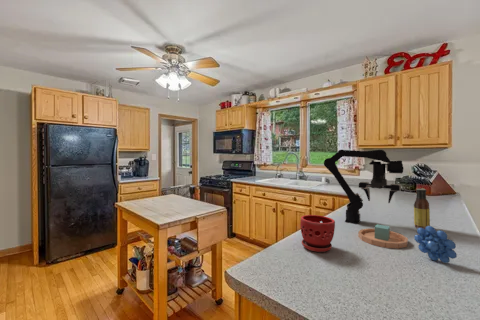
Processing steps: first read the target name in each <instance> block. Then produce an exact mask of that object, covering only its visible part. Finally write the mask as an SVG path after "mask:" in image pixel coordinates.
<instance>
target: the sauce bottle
mask: <svg viewBox="0 0 480 320" xmlns="http://www.w3.org/2000/svg"><path fill="white" fill-rule="evenodd" d="M415 191H416V198H415V201H414V204H413V224H414V227H415V228H416V229H418V228H423V229H425V227H426V226H431V219H430V217H431V216H430V214H431V211H430V202H429V201H428V199H427V189H425V188H416V189H415ZM425 230H426V229H425Z"/></svg>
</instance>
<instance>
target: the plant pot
mask: <svg viewBox="0 0 480 320" xmlns="http://www.w3.org/2000/svg"><path fill="white" fill-rule="evenodd" d="M335 230H336V221H335V220H334V219H333V218H331V217H329V216H324V215H316V214H306V215H302V216H301V217H300V232H301V237H302V240H301V244H302V246H303V247H304V248H305V249H307V250H309V251H312V252H318V253H324V252H328V251H330V250H331V249H332V247H333V244H332V241H333V239H334V235H335Z"/></svg>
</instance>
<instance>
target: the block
mask: <svg viewBox="0 0 480 320" xmlns="http://www.w3.org/2000/svg"><path fill="white" fill-rule="evenodd" d="M374 229H375V238H376V239H381V240H386V241H388V240H389V238H390V231H391V228H390V226H389V225H383V224H376V225H374Z"/></svg>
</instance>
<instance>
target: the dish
mask: <svg viewBox="0 0 480 320" xmlns="http://www.w3.org/2000/svg"><path fill="white" fill-rule="evenodd" d="M357 234H358V235H357V237H358V239H360V240H361V241H362V242H365V243H367V244H369V245H372V246H377V247H381V248H386V249H387V248H388V249H403V248H408V244H409V238H408V237H407V236H405V235H403V234H401V233H399V232H396V231H392V230H390V238H389V240H388V241H386V240H381V239H376V238H375V228H361V229H359V231H358V233H357Z"/></svg>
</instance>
